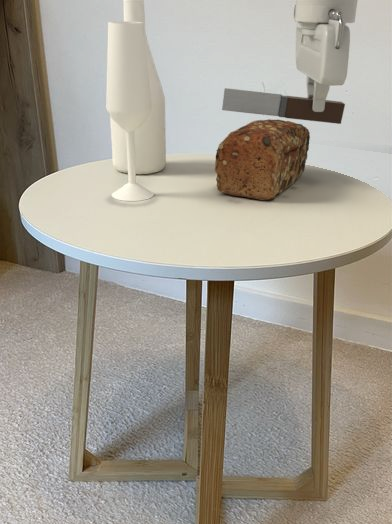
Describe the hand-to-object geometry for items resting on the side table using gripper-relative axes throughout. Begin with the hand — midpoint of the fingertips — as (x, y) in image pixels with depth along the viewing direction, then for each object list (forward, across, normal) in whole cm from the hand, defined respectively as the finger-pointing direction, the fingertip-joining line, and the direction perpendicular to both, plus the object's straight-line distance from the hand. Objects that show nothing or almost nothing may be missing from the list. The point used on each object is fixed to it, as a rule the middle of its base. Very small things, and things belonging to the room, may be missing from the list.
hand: (314, 109), depth 95 cm
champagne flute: (+12, -6, +29) cm, 32 cm away
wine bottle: (+12, +10, +29) cm, 33 cm away
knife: (+1, 0, +6) cm, 6 cm away
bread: (+12, 0, +8) cm, 14 cm away
